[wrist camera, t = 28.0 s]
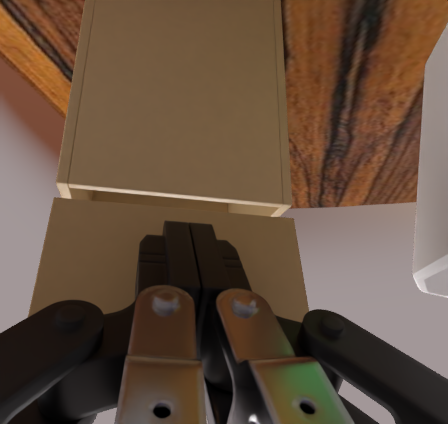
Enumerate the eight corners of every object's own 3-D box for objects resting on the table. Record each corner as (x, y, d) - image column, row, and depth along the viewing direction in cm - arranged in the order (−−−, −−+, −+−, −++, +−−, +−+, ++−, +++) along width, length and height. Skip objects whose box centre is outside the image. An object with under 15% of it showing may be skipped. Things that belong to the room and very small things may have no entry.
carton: (95, -69, 18) (55, 182, 14) (279, -27, 20) (292, 205, 16) (103, 66, 27) (79, 248, 22) (232, 86, 29) (232, 258, 24)
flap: (54, 201, 14) (53, 196, 14) (291, 222, 16) (294, 217, 16) (27, 331, 12) (25, 327, 11) (309, 336, 13) (313, 333, 13)
